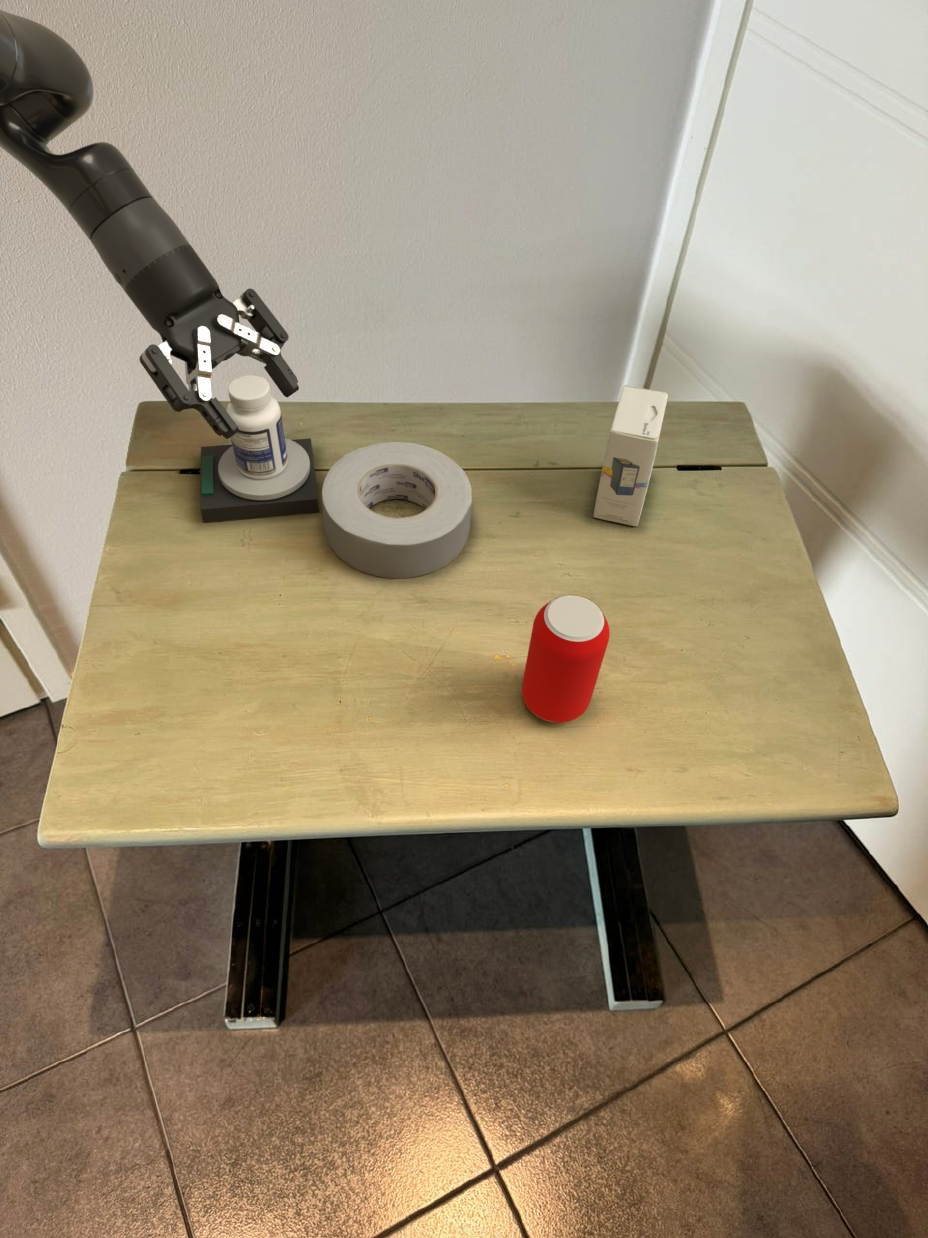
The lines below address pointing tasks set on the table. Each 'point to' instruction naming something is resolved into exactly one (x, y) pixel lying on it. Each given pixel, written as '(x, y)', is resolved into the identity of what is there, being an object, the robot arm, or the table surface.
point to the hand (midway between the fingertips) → (264, 413)
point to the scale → (256, 485)
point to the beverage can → (564, 658)
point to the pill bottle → (256, 428)
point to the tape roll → (389, 539)
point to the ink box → (630, 455)
